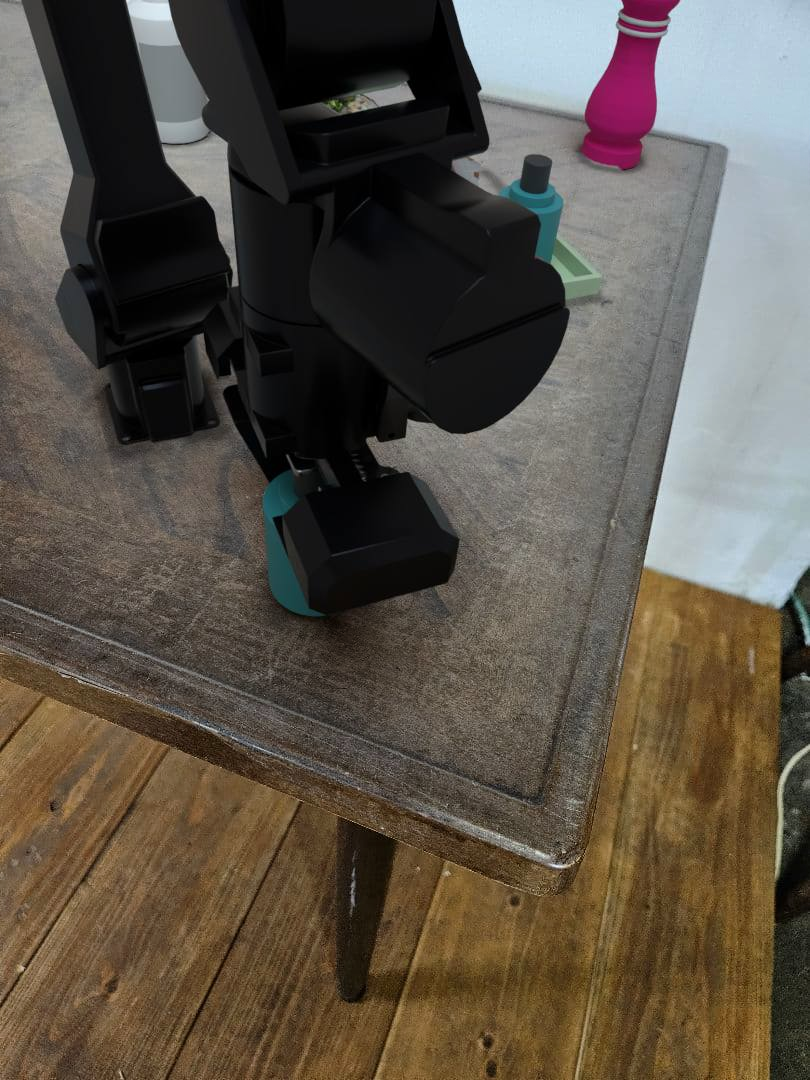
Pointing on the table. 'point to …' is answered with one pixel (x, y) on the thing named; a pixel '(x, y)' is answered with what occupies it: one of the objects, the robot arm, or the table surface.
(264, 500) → the bottle loose
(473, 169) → the kitchen knife
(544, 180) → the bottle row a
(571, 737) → the table surface
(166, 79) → the spray bottle
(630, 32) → the pepper mill
